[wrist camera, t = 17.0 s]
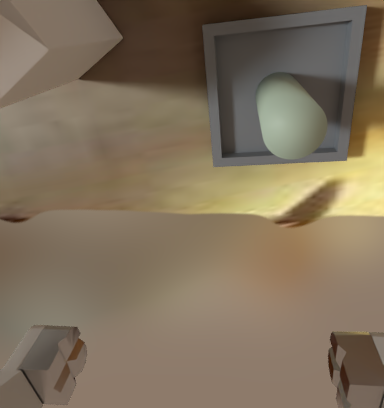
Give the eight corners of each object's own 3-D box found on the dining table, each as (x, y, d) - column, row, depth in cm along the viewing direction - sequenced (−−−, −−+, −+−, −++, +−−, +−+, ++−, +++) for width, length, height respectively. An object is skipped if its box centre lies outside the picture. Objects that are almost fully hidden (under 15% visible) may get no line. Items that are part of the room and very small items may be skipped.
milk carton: (124, 37, 33) (10, 56, 17) (77, 80, 36) (-62, 132, 19) (75, -32, 31) (-116, -90, 14) (28, 19, 33) (-177, 20, 17)
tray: (204, 24, 31) (202, 25, 30) (359, 5, 29) (367, 5, 27) (214, 160, 38) (213, 167, 36) (341, 153, 36) (346, 160, 34)
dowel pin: (255, 74, 32) (262, 100, 22) (301, 69, 32) (330, 95, 21) (255, 118, 35) (262, 161, 24) (298, 115, 34) (324, 157, 24)
